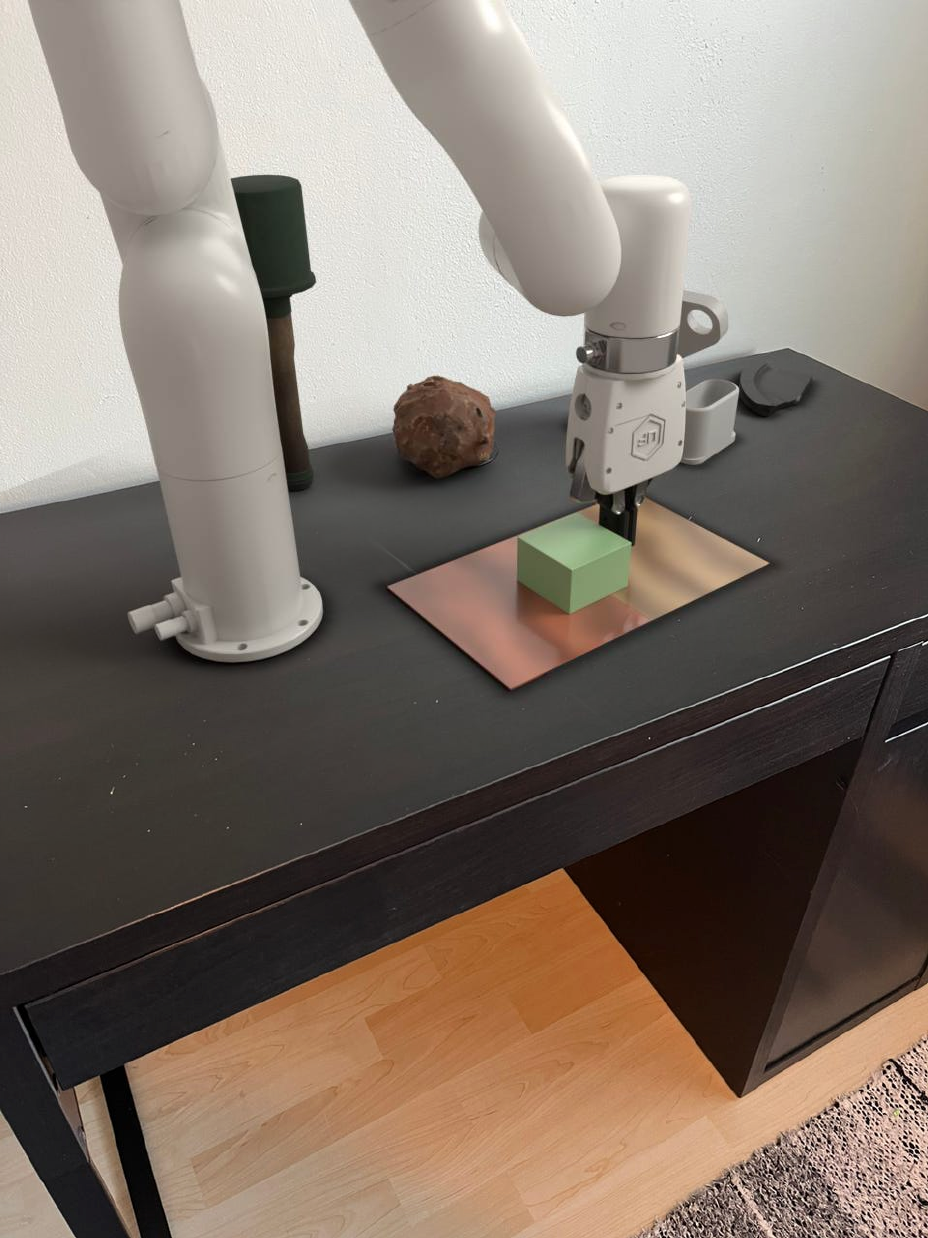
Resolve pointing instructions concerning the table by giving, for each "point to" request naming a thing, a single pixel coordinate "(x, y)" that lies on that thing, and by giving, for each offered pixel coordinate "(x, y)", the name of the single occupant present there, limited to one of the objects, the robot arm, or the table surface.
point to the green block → (573, 562)
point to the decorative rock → (443, 426)
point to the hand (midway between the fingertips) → (616, 542)
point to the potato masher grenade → (280, 296)
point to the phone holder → (705, 383)
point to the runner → (545, 634)
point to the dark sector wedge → (771, 388)
